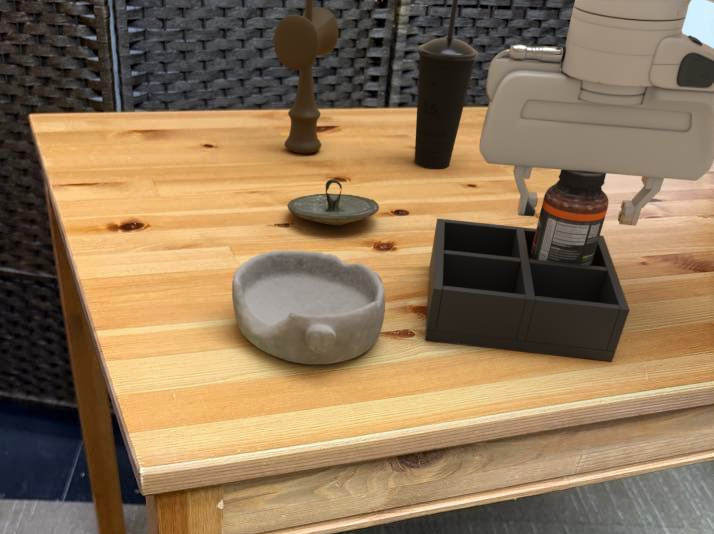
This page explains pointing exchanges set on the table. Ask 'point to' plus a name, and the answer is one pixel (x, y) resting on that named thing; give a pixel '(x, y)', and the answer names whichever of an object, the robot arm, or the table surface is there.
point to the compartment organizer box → (520, 294)
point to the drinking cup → (441, 95)
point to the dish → (308, 306)
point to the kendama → (305, 68)
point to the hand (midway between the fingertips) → (575, 218)
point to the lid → (333, 207)
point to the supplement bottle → (571, 219)
